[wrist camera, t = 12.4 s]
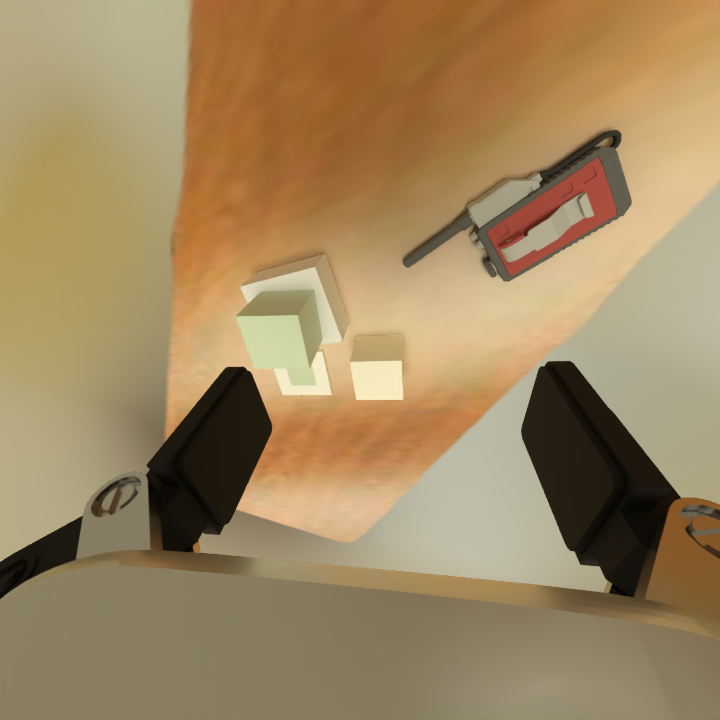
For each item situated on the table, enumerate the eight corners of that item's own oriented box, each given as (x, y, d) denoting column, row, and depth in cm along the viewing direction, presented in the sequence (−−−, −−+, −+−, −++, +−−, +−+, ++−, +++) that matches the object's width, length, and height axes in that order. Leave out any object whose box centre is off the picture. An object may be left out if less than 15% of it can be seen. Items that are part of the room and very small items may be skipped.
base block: (257, 271, 36) (239, 286, 32) (325, 252, 34) (315, 266, 30) (287, 333, 41) (275, 353, 37) (348, 321, 39) (342, 341, 35)
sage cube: (260, 291, 32) (235, 316, 27) (314, 289, 31) (297, 315, 27) (274, 338, 36) (253, 368, 31) (322, 338, 35) (309, 368, 30)
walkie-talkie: (601, 103, 24) (398, 253, 33) (634, 96, 21) (397, 266, 30) (629, 199, 28) (439, 311, 37) (662, 206, 24) (442, 329, 33)
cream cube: (356, 335, 40) (350, 361, 35) (401, 334, 39) (401, 360, 34) (361, 371, 43) (356, 399, 38) (403, 370, 42) (403, 399, 37)
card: (269, 351, 43) (268, 353, 42) (323, 349, 42) (322, 352, 41) (283, 392, 47) (282, 395, 47) (332, 392, 46) (331, 395, 46)
